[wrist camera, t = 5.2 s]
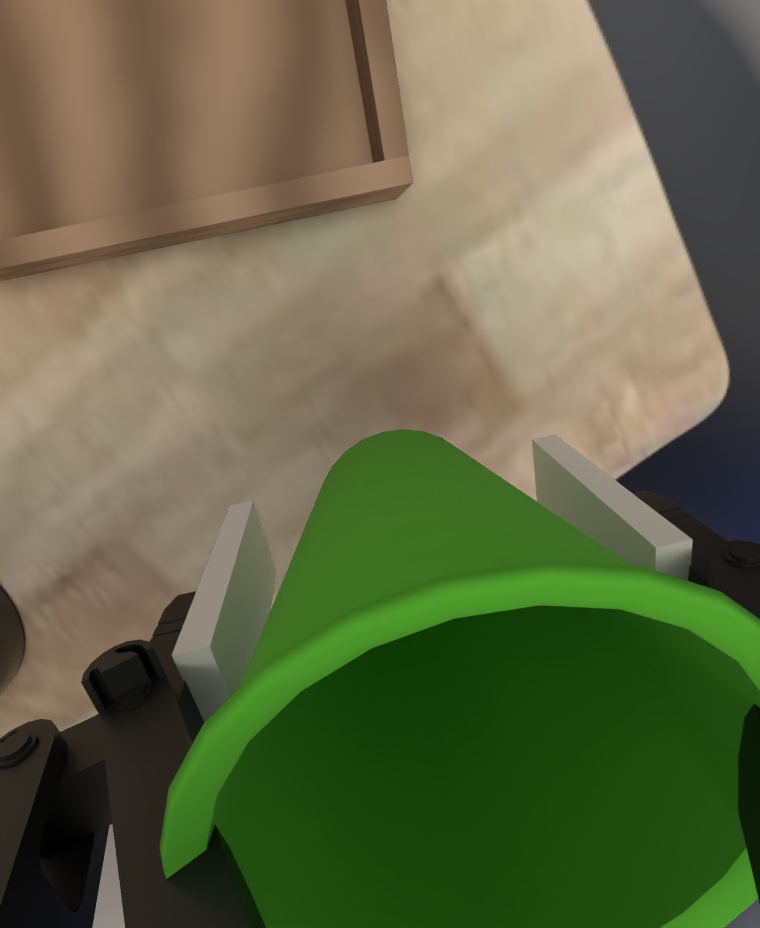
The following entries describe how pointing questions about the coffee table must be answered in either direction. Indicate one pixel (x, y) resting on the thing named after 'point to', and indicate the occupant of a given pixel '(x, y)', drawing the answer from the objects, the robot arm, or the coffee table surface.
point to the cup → (475, 720)
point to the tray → (188, 121)
